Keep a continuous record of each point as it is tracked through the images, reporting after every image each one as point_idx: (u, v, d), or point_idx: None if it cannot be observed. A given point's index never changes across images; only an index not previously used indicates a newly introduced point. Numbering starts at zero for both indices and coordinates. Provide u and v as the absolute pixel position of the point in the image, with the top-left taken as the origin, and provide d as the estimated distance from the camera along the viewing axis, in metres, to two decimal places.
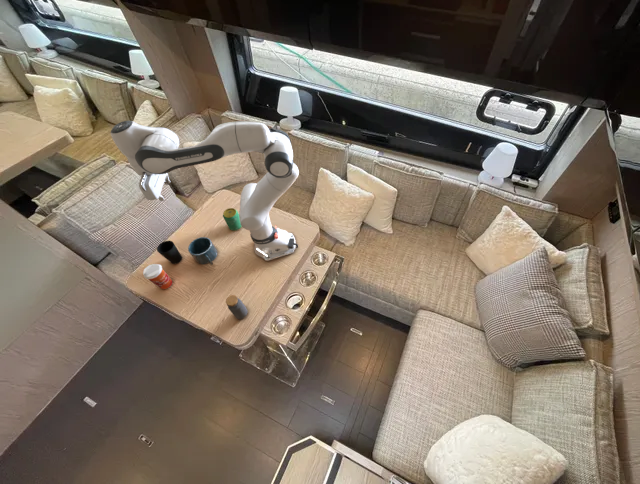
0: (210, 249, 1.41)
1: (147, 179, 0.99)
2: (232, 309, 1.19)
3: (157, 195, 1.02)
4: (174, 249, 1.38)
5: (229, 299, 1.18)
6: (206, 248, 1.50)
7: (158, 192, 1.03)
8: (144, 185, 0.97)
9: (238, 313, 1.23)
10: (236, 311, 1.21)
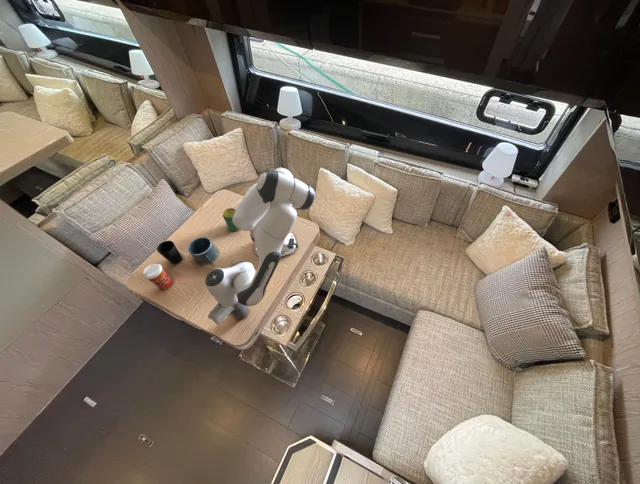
0: (210, 249, 1.41)
1: (217, 310, 1.11)
2: None
3: (219, 321, 1.14)
4: (174, 249, 1.38)
5: None
6: (206, 248, 1.50)
7: (222, 318, 1.15)
8: (211, 315, 1.10)
9: (238, 313, 1.23)
10: (236, 312, 1.21)
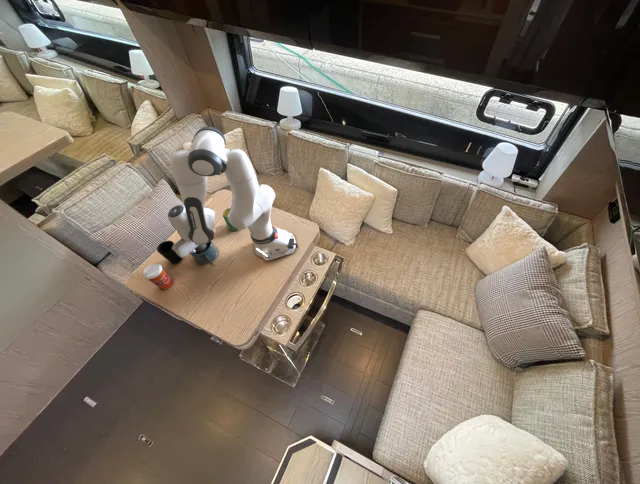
0: (210, 249, 1.41)
1: (180, 244, 1.30)
2: None
3: (183, 255, 1.33)
4: None
5: None
6: None
7: (186, 253, 1.34)
8: (175, 248, 1.29)
9: (202, 251, 1.41)
10: (199, 249, 1.40)
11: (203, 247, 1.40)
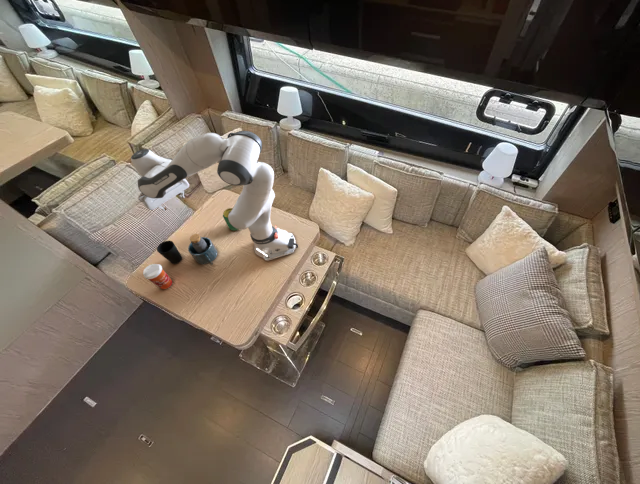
0: (210, 249, 1.41)
1: None
2: (196, 246, 1.38)
3: (152, 207, 1.22)
4: (174, 249, 1.38)
5: (193, 237, 1.36)
6: None
7: (155, 205, 1.23)
8: (142, 198, 1.18)
9: (202, 251, 1.42)
10: (199, 249, 1.40)
11: (203, 247, 1.40)
